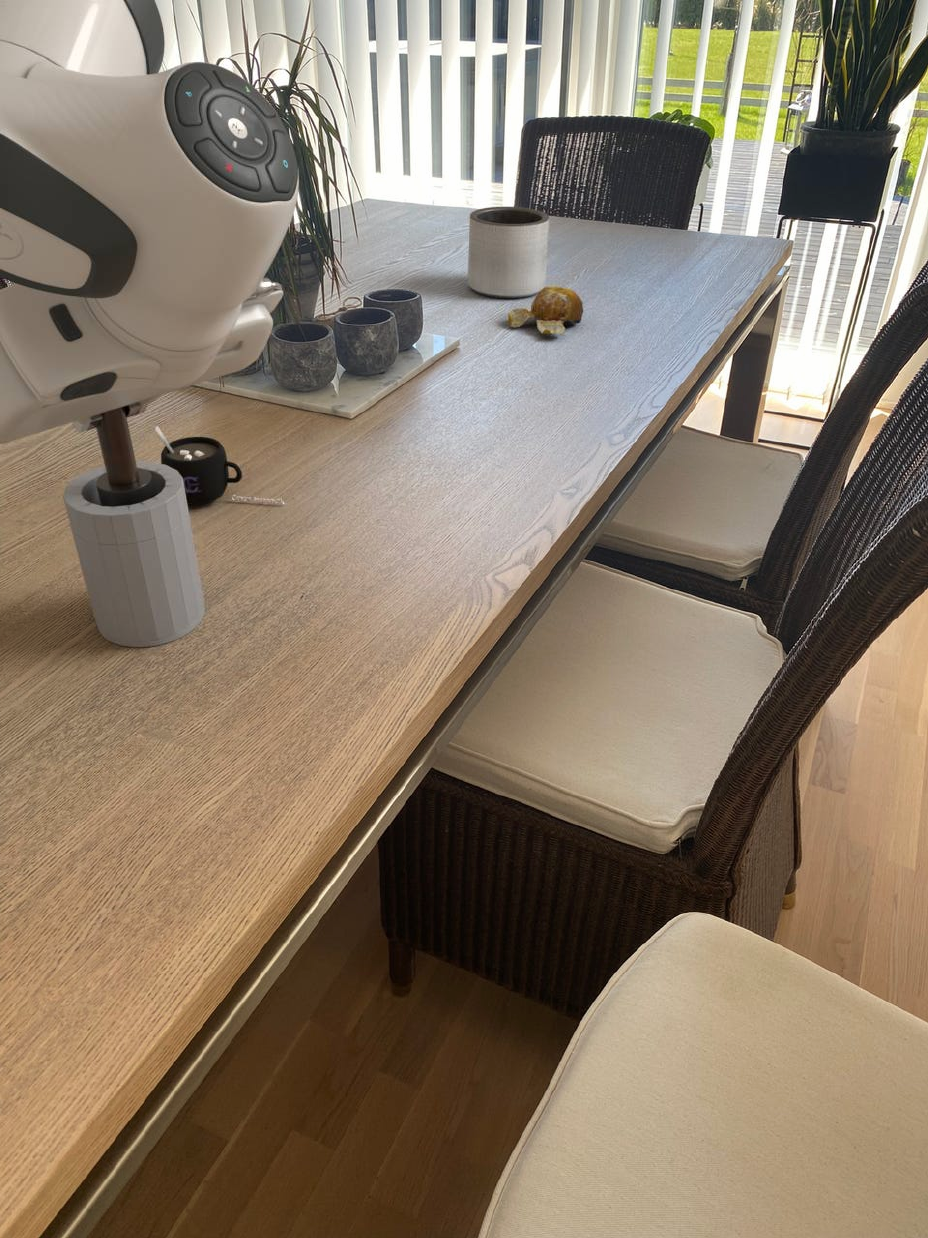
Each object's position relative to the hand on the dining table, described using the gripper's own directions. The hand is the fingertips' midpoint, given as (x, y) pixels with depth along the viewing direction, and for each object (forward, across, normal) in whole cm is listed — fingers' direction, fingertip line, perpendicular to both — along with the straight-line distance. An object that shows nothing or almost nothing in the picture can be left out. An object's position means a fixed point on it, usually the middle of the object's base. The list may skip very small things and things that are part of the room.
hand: (105, 414), depth 68 cm
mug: (+21, -16, +4) cm, 27 cm away
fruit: (+30, -76, -2) cm, 81 cm away
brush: (+6, 0, +7) cm, 9 cm away
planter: (+41, -88, -15) cm, 99 cm away
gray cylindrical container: (+12, 0, +13) cm, 18 cm away
